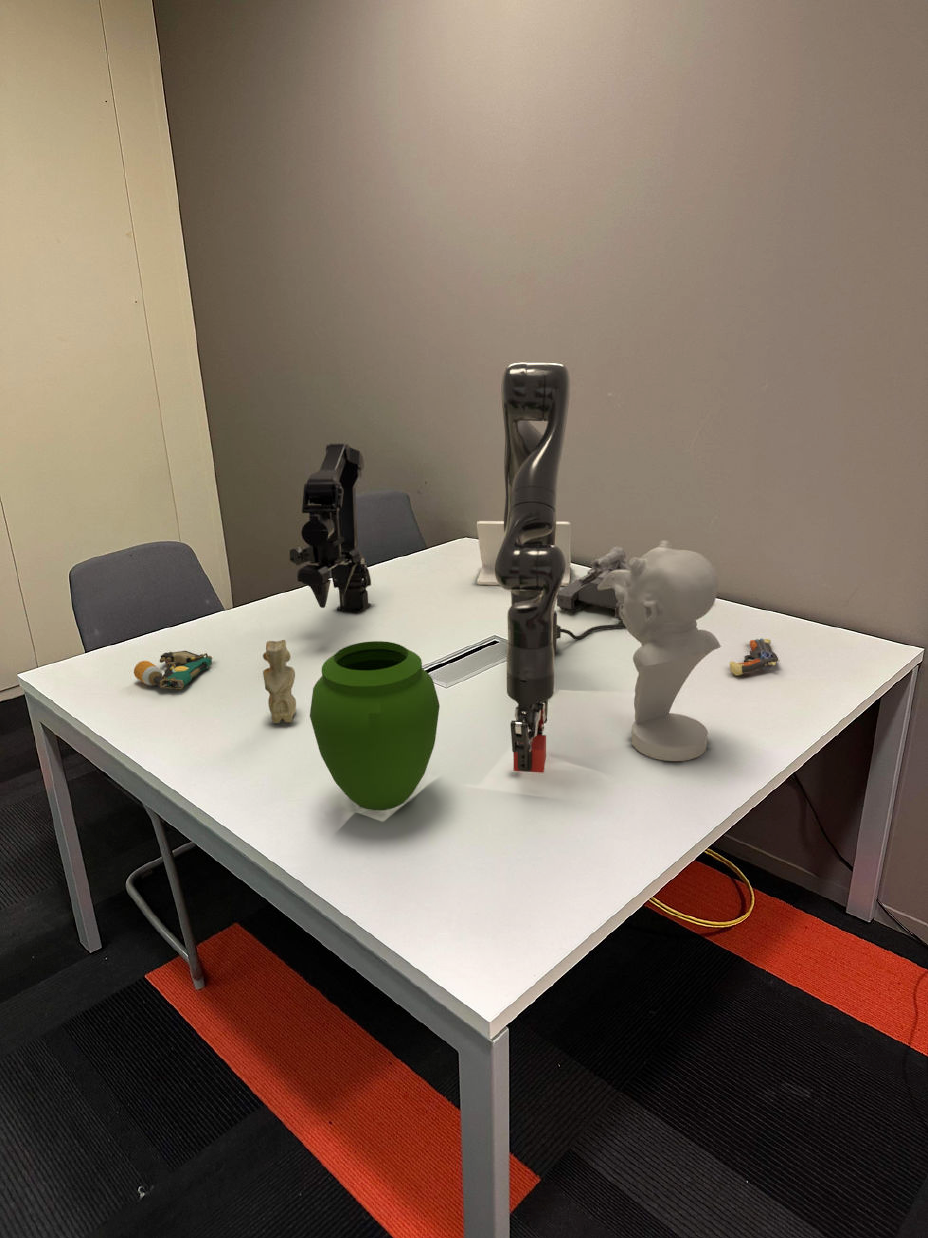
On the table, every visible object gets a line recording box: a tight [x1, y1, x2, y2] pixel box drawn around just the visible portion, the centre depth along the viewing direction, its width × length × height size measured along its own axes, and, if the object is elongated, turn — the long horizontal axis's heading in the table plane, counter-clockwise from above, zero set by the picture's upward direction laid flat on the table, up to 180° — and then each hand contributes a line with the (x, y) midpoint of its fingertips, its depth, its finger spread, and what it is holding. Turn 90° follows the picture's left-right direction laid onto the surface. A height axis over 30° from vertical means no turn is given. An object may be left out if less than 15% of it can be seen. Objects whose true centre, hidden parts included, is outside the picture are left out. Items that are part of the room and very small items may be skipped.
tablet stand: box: [476, 520, 572, 587], centre depth 236 cm, size 18×25×17 cm
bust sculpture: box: [597, 540, 722, 762], centre depth 146 cm, size 16×24×35 cm
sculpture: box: [262, 639, 297, 724], centre depth 158 cm, size 6×7×15 cm
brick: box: [512, 734, 547, 774], centre depth 140 cm, size 5×5×4 cm
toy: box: [556, 546, 630, 622], centre depth 212 cm, size 25×20×15 cm
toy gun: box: [729, 638, 780, 676], centre depth 179 cm, size 3×19×10 cm
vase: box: [309, 640, 441, 811], centre depth 130 cm, size 20×20×24 cm
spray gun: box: [133, 650, 213, 690], centre depth 180 cm, size 4×17×15 cm
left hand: (332, 600), depth 194 cm, fingers open, 9 cm apart
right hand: (530, 760), depth 141 cm, fingers closed on brick, 5 cm apart
